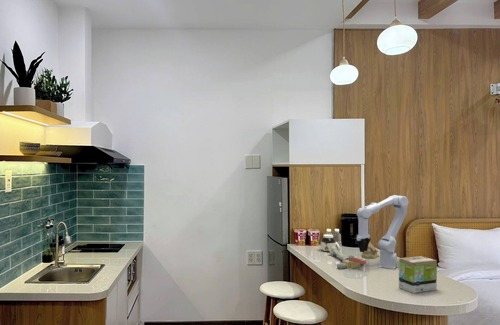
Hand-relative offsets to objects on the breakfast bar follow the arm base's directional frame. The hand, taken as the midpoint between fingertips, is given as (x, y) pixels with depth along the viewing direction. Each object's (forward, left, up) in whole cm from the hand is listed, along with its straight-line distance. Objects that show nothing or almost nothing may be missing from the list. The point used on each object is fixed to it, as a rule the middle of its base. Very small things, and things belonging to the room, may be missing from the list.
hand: (363, 251), depth 220 cm
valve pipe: (+7, +1, -10) cm, 12 cm away
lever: (+3, +4, -6) cm, 7 cm away
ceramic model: (+4, -33, -10) cm, 35 cm away
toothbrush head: (+19, -15, -10) cm, 26 cm away
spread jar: (+31, -34, -10) cm, 47 cm away
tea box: (-32, +25, -10) cm, 42 cm away
